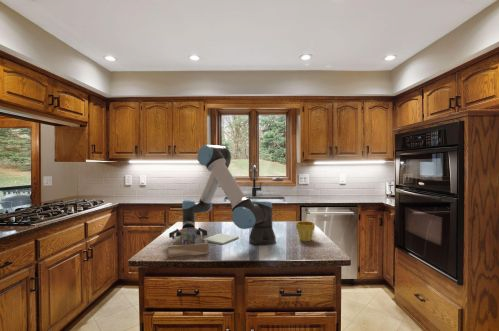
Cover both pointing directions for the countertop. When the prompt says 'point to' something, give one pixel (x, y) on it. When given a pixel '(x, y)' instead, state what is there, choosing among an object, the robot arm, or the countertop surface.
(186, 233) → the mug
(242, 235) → the countertop surface
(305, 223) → the plant pot
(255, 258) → the countertop surface
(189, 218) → the robot arm
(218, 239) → the board
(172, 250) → the mug holder
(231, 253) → the countertop surface
